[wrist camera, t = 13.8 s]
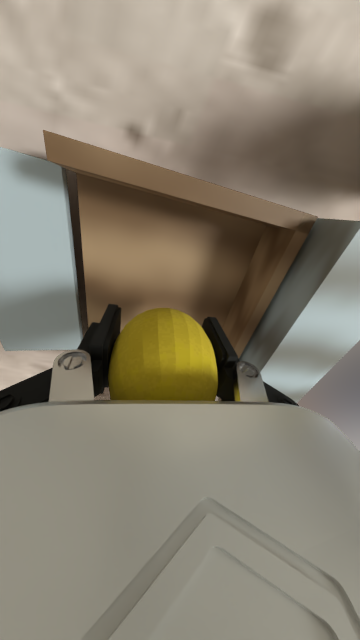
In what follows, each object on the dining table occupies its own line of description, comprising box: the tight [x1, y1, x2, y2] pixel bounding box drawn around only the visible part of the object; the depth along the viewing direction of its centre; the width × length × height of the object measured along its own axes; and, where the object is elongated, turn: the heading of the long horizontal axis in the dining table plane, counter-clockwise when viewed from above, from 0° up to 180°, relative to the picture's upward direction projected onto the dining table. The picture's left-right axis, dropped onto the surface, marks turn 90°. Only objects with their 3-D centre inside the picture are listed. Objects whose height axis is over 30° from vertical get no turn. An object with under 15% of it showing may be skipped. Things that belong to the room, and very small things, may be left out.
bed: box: [43, 130, 360, 403], centre depth 16 cm, size 18×24×9 cm
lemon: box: [108, 308, 218, 401], centre depth 9 cm, size 6×6×8 cm
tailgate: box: [0, 147, 83, 351], centre depth 14 cm, size 15×2×6 cm
